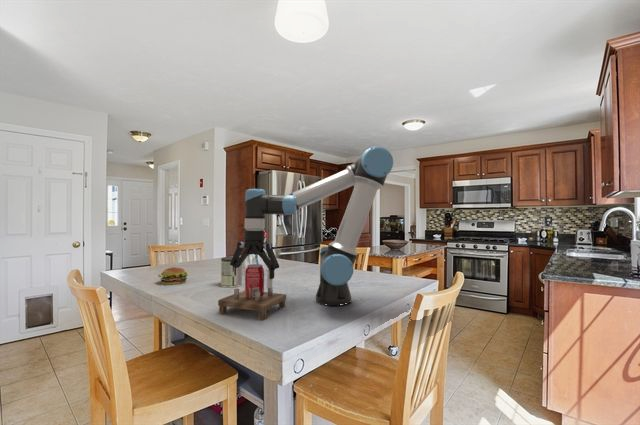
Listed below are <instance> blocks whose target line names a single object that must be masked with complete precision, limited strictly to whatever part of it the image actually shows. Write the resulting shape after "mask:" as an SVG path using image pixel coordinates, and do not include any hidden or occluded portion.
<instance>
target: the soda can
mask: <svg viewBox="0 0 640 425" xmlns="http://www.w3.org/2000/svg"><path fill="white" fill-rule="evenodd" d="M246 266H247V267H246V268H245V273H244V276H245V278H244V290H245V296H246V297H248V298H249V299H255V291H260V298H261V297H262V296H263V294H264V292H265V269H264V267H263V266H264V265H263V264H259V263H258V264H257V263H254V264H253V263H252V264H247V265H246Z"/></svg>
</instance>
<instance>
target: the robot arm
mask: <svg viewBox="0 0 640 425" xmlns="http://www.w3.org/2000/svg"><path fill="white" fill-rule="evenodd" d="M393 166H394V158H393V156H392V154H391V152H390V151H389V150H388V149H387V148H385V147H384V146H378V145H377V146H372V147H370V148H368V149H366V150H364V152H363V153H362V155H361V156H360V157H359V159H357V160H356V161H355V162H353V163H350V164H349V165H346V168H345V169H343V170H341V171H339V172H337V173H335V174H332V175H329V176H328V177H325V178H323V179H321V180H318V181H316V182H314V183H312V184H309V185H307V186H305V187H303V188H300V189H298V190H295V191H293V192H292V193H289V194H267V193H266V191H265V189H262V188H249V189H246V190H245V195H244V230H245V231H244V235H243V236H244V237H243V238H244V241H239V242H237V245H236V250H235V251H234V254H233V256H232V257H233V258H232V260H231V262H230V265H231V266H234V268H235V271H234V274H235V276H236V285H239V284H242V283H243V282H242V275H243V267H240V265H241V264H243V263H244V262H245V261H246V259H247V258H248V256H250V255H255V256H256V255H257V256H259V257H260V258H261V260H262V261H263V263H264V265H265V266H266V267H267V268H268V270H266V289H268V288H271V287H272V286H273V279H275V270H277V269H279V268H280V264H279V262H278V259H277V256H276V254H275V252H274V250H273V245H272V242H267V243H265V236H266V235H265V228H266V227H265V224H266V219H265V218H266V215H280V216H290V215H296V213H297V211H299V210H300V209H303V208H305V207H308V206H309V205H312V204H314V203H317V202H318V201H321V200H323V199H326V198H328V197H330V196H332V195H334V194H337V193H339V192H341V191H344V190H346V189H349V188H351V187H352V186H353V190H352V193H351V195H350V197H349V198H350V199H349V201H348V203H347V206H346V209H345V212H344V214H343V217H342V220H341V222H340V224H339V228H338V230H337V233H336V236H335V238H334V240H333V241H332V242H329V243H328V245H327V246H323V247H320V252H319V256H320V259H319V262H320V263H319V265H320V266H319V269H320V270H319V271H320V272H319V285H318V288H317V291H316V294H315V302H316V303H317V304H319V303H320V305H322V304H327V305H340V304H345V303H349V302H350V301H351V302H352V294H351V292H350V287H349V285H348V284H349V283H348V282H350V280H351V278H352V277H353V276H354V275H353V274H354V267H355V266H354V265H355V263H356V259H357V258H358V253H357V246H358V243H359V240H360V238H361V236H362V232H363V230H364V227H365V224H366V222H367V219H368V216H369V213H370V211H371V208H372V206H373V203H374V200H375V198H376V195H377V192H378V191H379V190H380V189H382V188H383V187H384V185H385V182H386V179H387V176H388V175H389V174H390V173H391V171H392V170H393ZM244 248H245V249H244ZM265 250H266V251H265ZM241 253H242V254H241ZM239 257H240V258H239ZM327 305H326V306H327Z"/></svg>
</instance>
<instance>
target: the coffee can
mask: <svg viewBox="0 0 640 425" xmlns="http://www.w3.org/2000/svg"><path fill="white" fill-rule="evenodd" d="M240 257H241V256H240ZM240 257H239V258H240ZM232 258H233V256H226V257H225V256H224V257H221V258H220V260H221V262H220V263H221V265H220V266H221V269H220V270H221V271H220V272H221V274H220V275H221V277H220V278H221V280H220V281H221V282H220V286H221V287H222V288H238V287H241V286H242V284H239V285H236V276H235V274H234V271H235V268H234V266H231V265H230V262H231V260H232ZM242 264H243V263H242ZM242 264H241V265H240V267H242ZM242 268H243V267H242Z"/></svg>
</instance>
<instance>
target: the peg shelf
mask: <svg viewBox="0 0 640 425" xmlns="http://www.w3.org/2000/svg"><path fill="white" fill-rule="evenodd" d="M273 291H274V290H273V285H272V287H271V288H267V291H264V294H263V296H262V297H261V298H260V291H255V299H249V298H248V297H246V296H245V289H244V290H241V291H240V289H239V288H234V289H233V294H231V295H228V296H226V297H222V298H221V299H218V302H217V306H218V307H219V309H218V310H219V311H218V314H219V315H225V314H227V309H228V308H233V309H241V310H248V311H253V312H254V311H257V312H258V320H259V321H265V320H266V319H267V311H268V310H269V309H271V308H273V307H275V306H277V305H278V309H283V310H284V309H285V308H286V300H287V293H285V294H284V293H277V292H273Z"/></svg>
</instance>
